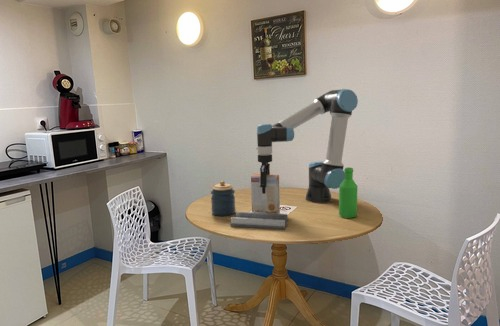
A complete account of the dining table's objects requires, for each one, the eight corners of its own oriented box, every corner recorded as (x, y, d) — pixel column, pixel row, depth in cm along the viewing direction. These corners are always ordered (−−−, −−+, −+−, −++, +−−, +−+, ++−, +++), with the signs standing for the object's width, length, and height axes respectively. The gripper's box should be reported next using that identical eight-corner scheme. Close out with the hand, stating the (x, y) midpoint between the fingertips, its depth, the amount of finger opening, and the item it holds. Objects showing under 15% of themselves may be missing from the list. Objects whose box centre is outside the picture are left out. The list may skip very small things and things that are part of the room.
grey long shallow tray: (287, 221, 170) (287, 213, 170) (284, 229, 159) (284, 221, 158) (237, 218, 176) (237, 210, 176) (230, 226, 165) (230, 218, 164)
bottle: (347, 219, 170) (348, 170, 166) (335, 215, 178) (336, 167, 173) (360, 216, 174) (361, 168, 170) (348, 212, 182) (349, 165, 177)
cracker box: (280, 212, 183) (279, 174, 180) (277, 216, 178) (276, 177, 174) (255, 210, 188) (254, 173, 184) (251, 214, 182) (250, 175, 179)
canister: (207, 215, 183) (205, 183, 180) (217, 208, 195) (216, 177, 192) (229, 217, 178) (228, 184, 175) (239, 210, 190) (238, 179, 187)
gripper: (261, 151, 188) (262, 192, 191) (253, 156, 169) (254, 202, 173) (275, 151, 186) (275, 193, 190) (268, 157, 167) (269, 202, 171)
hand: (265, 197), depth 181 cm, fingers closed on cracker box, 6 cm apart
